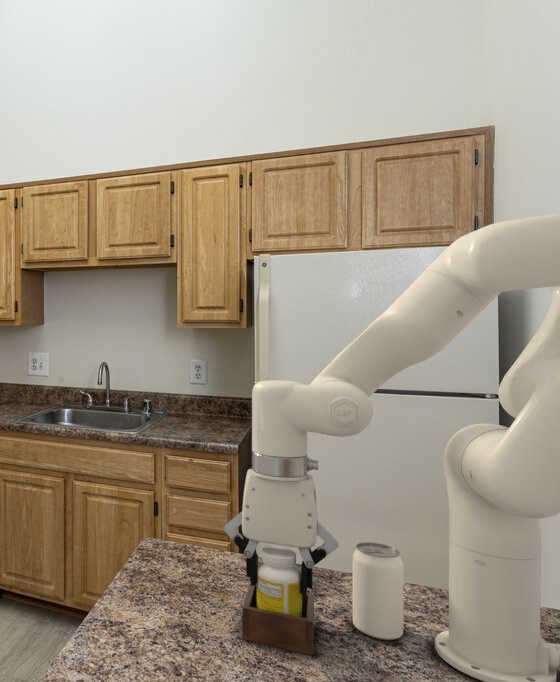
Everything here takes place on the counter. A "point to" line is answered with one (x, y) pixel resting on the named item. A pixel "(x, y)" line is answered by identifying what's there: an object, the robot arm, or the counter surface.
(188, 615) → the counter surface
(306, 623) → the box
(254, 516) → the robot arm
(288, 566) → the pill bottle
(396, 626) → the can
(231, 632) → the counter surface
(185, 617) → the counter surface
